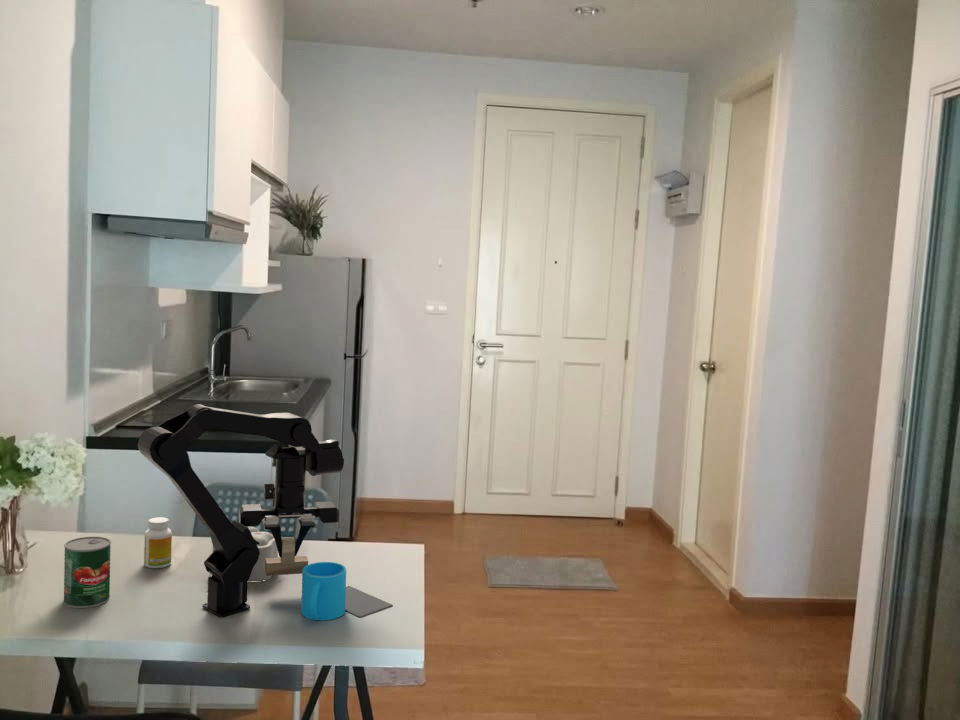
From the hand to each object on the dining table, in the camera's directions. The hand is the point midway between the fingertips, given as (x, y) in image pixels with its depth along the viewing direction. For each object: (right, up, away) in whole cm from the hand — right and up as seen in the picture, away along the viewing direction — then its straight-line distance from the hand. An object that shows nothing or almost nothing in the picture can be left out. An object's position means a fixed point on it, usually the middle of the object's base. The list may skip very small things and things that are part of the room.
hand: (287, 556), depth 165 cm
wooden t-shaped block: (0, -4, 0) cm, 4 cm away
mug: (+8, -10, -8) cm, 15 cm away
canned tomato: (-36, -7, -7) cm, 37 cm away
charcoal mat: (+13, -9, 0) cm, 16 cm away
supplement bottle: (-31, -5, +13) cm, 34 cm away
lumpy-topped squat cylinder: (-12, -6, +12) cm, 18 cm away
